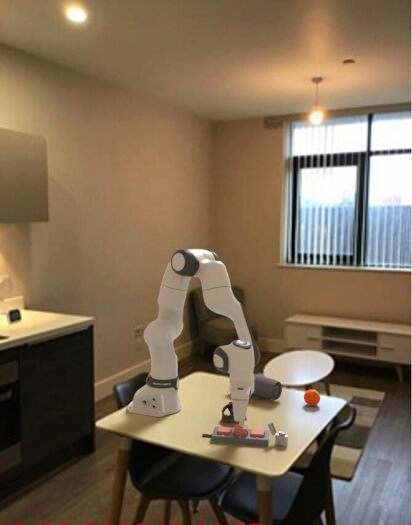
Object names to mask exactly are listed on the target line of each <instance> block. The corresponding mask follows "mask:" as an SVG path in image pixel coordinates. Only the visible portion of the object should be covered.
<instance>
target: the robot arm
mask: <svg viewBox="0 0 412 525" xmlns="http://www.w3.org/2000/svg"><path fill="white" fill-rule="evenodd" d="M194 277H195V278H198V279H199V280H200V285H201V291H202V296H203V301H204V302H203V303H204V304H205V306H206V307H207V309H209V310H210V311H212V312H213V313H215V314H218V315H221V316H225V317H227V318H228V319H230V320H231V321H232V322H233V325H234V327H235V331H236V334H237V336H238V337H237V338H238V339H235V340H233V341H232V342H230V344H226V345H221V346H217V347H216V348H215V350H214V352H213V356H212V362H213V367H215V369H217V371H219V372H221V373H228V374H229V393H230V399H231V402H232V403H233V416H234V420H233V421H234V422H236V423H238V424H239V425H241V426H243V425H245V422H246V420H245V417H246V418H247V411H248V406H249V405H248V404H249V400H250V398H251V394H252V393H253V392H254V375H253V374H254V370H255V368H256V367H257V366H258V365H259V362H260V360H261V352H260V349H259V347H258V345H257V343H256V341H255V340H256V339H254V335H253V332H252V330H251V327H250V323H249V320H248V317H247V314H246V311H245V309H244V306H243V305H242V302H240V301H239V300H238V299H237V298H236V297H235V294H234V293H233V290H232V289H233V288H232V284H231V280H230V276H229V273H228V270H227V267H226V265H225V264H224V263H223V262H222V261H220V258H219V255H218V254H217V253H215V252H214V251H212V250H209V249H202V248H181V249H177V250H175V252H174V253H173V254H172V256H171V258H170V261H169V262H168V263H167V266H166V268H165V271H164V273H163V277H162V280H161V283H160V284H161V285H160V288H159V292H158V298H157V304H158V315H157V317H156V319H155V320H152V321H150V322H149V323H148V325H147V326H146V328H145V329H144V330H143V335H142V336H143V340H144V342H145V344H146V345H147V348H148V351H149V356H150V373H148V374H147V377H146V378H145V382H146V384H145V385H143V386H142V387H141V388H139V389H138V390H137V391H135V393H134V396H133V398H132V401H131V402H130V403H129V404H128V405H127V412H128V413H131V414H137V415H138V414H139V415H145V416H151V417H157V418H161V417H164V416H167V415H172V414H176V413H178V412H179V411H181V410H182V405H181V400H180V395H179V388H180V379H179V374H178V368H179V367H178V355H177V354H176V352H175V351H176V350H175V347H174V341H175V340H177V338H178V337H179V336H180V335H181V333H182V331H183V330H184V329H183V328H184V322H183V318H184V306H185V302H186V298H187V294H188V289H189V285H190V281H191V279H192V278H194Z"/></svg>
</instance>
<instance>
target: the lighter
mask: <svg viewBox="0 0 412 525" xmlns="http://www.w3.org/2000/svg"><path fill="white" fill-rule="evenodd" d="M267 426H268V428H269V433H270V434H271V436H275V437H274V438H275V441H274V442H275V445H277V446H281V447H288V445H289V435H288V434H286V433H285V431H281V430H279V431H278V432H277V430H276V427H275V425H274V422H273V421H271V422H268V423H267Z"/></svg>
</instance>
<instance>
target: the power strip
mask: <svg viewBox="0 0 412 525" xmlns="http://www.w3.org/2000/svg"><path fill="white" fill-rule="evenodd" d="M219 427H220V426H214V428H213V431H212V433H202V435H201V437H205V438H211V442H212V443H220V444H221V443H223V444H233V445H234V444H235V445H246V446H247V445H251V446H262V447H269V444H270V443H269V442H270V429H269V430H267V429H265V430H264V429H263V430H264V437H251V431H252V429H253V430H256V429H254V428H247V436H237V435H234V428H235V427H230V428H231V435H224V434H218V428H219ZM224 427H225V428H229V427H226V426H224Z"/></svg>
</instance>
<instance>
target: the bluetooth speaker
mask: <svg viewBox="0 0 412 525" xmlns="http://www.w3.org/2000/svg"><path fill="white" fill-rule="evenodd" d="M253 375H254V392H253V393H252V394H251V396H250V398H255V399H258V400H263V401H264V400H266V399H267V400H271V401H277V400H278V399H280V397H281V395H282V392H283V386H282V383H281V381H279V380H276V379H273V378H271V377H268V376H263V375H259V374H256V373H253Z"/></svg>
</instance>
